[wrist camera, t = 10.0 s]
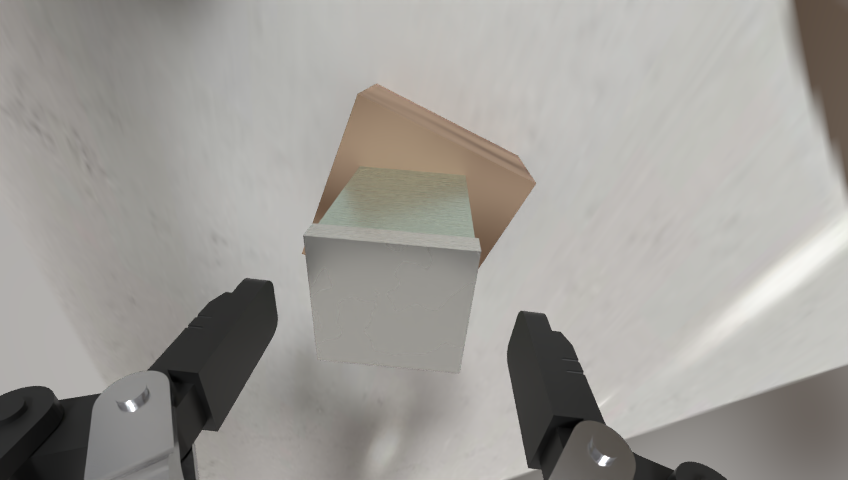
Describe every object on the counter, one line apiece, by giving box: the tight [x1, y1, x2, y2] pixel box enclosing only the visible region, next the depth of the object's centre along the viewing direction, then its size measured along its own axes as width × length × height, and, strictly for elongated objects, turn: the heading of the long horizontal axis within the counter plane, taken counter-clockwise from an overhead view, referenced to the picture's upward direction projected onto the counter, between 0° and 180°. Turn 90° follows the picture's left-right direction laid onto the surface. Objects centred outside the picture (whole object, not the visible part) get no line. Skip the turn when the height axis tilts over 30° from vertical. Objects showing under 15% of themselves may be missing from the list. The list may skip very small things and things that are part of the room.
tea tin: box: [303, 166, 481, 373], centre depth 14 cm, size 5×5×7 cm
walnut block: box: [302, 84, 536, 269], centre depth 20 cm, size 9×9×5 cm
